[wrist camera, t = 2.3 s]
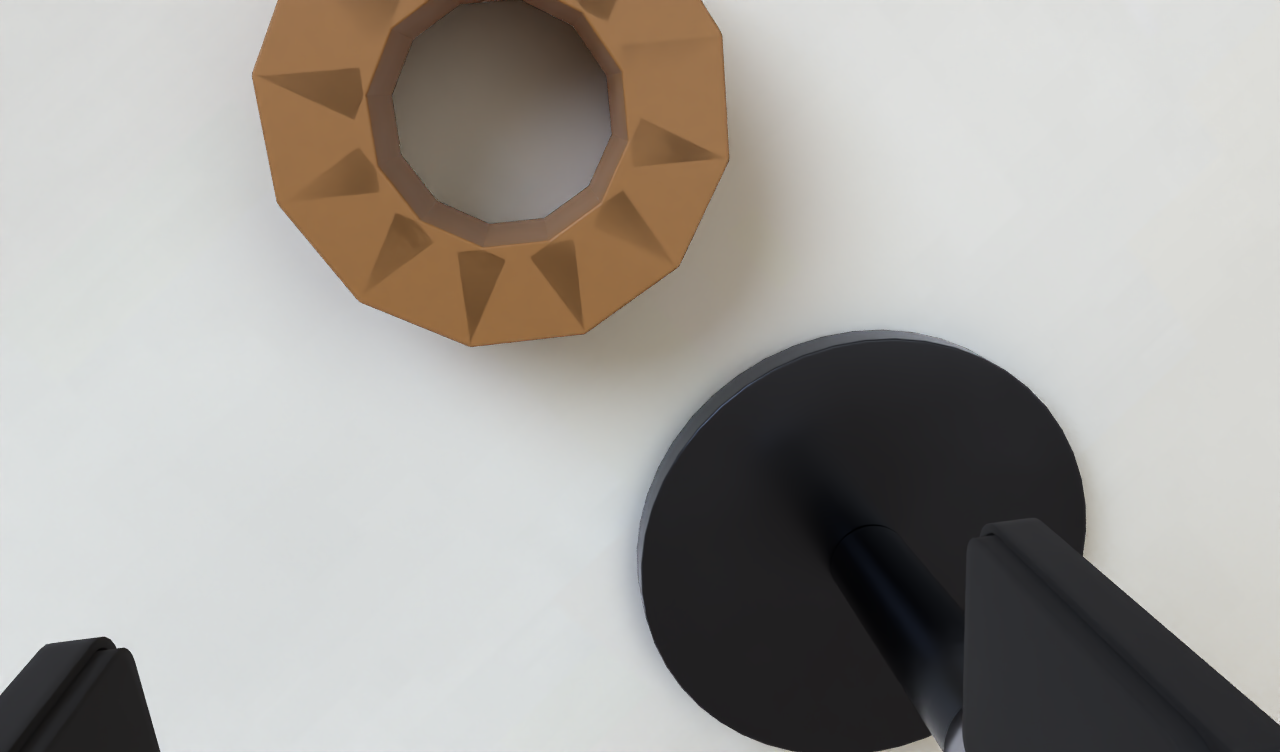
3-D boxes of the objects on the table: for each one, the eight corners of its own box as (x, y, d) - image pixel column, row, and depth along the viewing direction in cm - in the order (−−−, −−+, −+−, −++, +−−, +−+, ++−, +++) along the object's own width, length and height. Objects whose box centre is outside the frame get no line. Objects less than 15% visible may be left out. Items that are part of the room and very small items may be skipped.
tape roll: (341, 324, 28) (308, 366, 24) (265, -83, 25) (212, -120, 21) (707, 284, 29) (739, 316, 25) (680, -114, 26) (711, -155, 22)
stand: (656, 763, 34) (728, 1131, 22) (616, 358, 29) (679, 540, 17) (1058, 701, 35) (1336, 1017, 23) (1077, 304, 31) (1433, 440, 19)
